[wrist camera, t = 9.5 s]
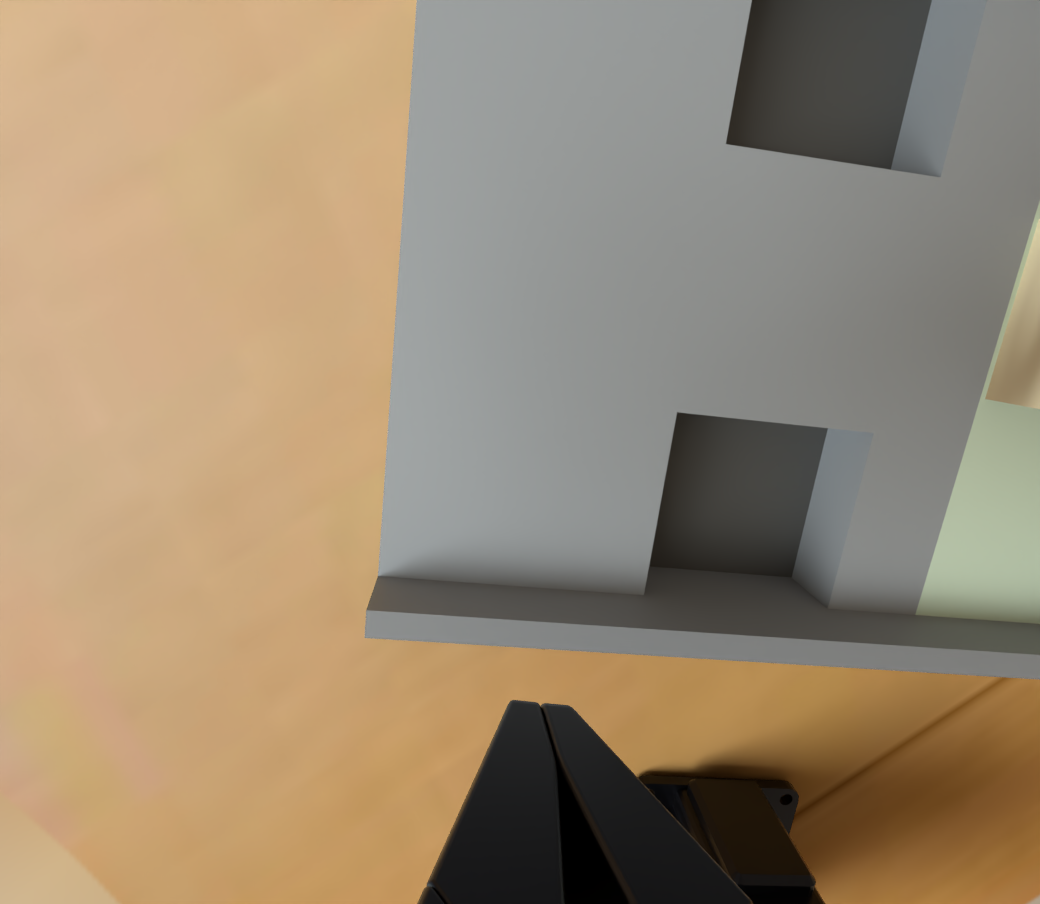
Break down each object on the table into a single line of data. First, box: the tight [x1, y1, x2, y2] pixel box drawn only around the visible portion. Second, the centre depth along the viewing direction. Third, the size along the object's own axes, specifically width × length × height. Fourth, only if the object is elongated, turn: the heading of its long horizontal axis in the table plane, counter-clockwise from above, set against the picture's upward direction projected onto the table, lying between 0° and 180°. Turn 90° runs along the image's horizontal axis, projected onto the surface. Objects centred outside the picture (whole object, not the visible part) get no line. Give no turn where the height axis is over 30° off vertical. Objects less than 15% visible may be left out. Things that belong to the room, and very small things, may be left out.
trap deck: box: [365, 0, 1040, 679], centre depth 17 cm, size 20×24×4 cm
